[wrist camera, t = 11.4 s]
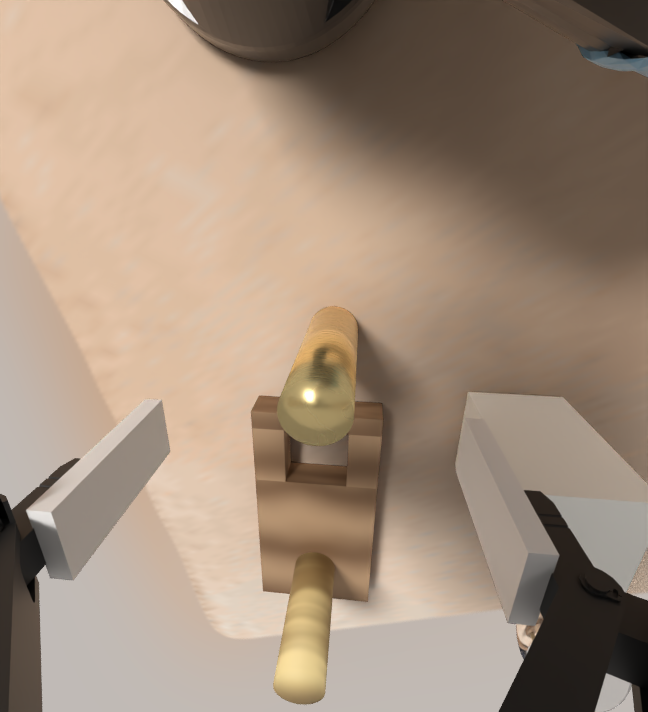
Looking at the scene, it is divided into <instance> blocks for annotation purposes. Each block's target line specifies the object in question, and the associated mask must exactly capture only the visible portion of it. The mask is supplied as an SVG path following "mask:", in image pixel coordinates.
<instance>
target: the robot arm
mask: <svg viewBox="0 0 648 712" xmlns="http://www.w3.org/2000/svg"><path fill="white" fill-rule="evenodd" d="M164 1H165V3H166V4H167V5H168V6H169V7H170V8H171V9H172V10H173V11H174V12H175V13H176V14H177V15H178V16H179V17H180V18H181V19H182V20H183V21H184V22H185V23H186V24H187V25H188V26H190V27H191V28H192V29H193V30H194V31H195V32H196V33H197V34H199V35H200V36H201V37H203V38H204V39H205V40H207V41H208V42H210V43H211V44H213V45H214V46H216V47H218V48H220V49H222V50H224V51H226V52H228V53H230V54H233V55H235V56H238V57H242V58H245V59H250V60H255V61H263V62H279V61H287V60H293V59H297V58H301V57H304V56H307V55H310V54H312V53H314V52H317V51H319V50H321V49H323V48H324V47H326V46H328V45H330V44H331V43H333V42H334V41H336V40H337V39H338V38H340V37H341V36H342V35H343V34H345V33H346V32H347V31H348V30H349V29H350V28H351V27H353V26H354V25H355V24H356V23H357V22H358V20H359V19H360V18H361V17H362V16H363V15H364V14H365V13H366V11H367V10H368V9H369V8H370V6H371V5H372V4H373V2H374V1H375V0H164ZM503 1H505V2H506V3H508V4H510V5H511V6H513V7H515V8H517V9H518V10H520V11H522V12H523V13H525V14H527V15H528V16H530V17H532V18H534V19H535V20H537V21H539V22H540V23H542V24H544V25H545V26H547V27H549V28H551V29H552V30H554V31H556V32H557V33H559V34H561V35H562V36H564V37H566V38H568V39H569V40H571V41H573V42H574V43H575V44H576V45H577V46H578V48H579V50H580V52H581V54H582V56H583V57H584V58H586V59H587V60H589V61H590V62H592V63H594V64H596V65H598V66H600V67H603V68H608V69H612V70H617V71H635V72H637V73H639V74H641V75H643V76H645V77H647V78H648V0H503ZM169 453H170V446H169V440H168V434H167V428H166V422H165V416H164V410H163V404H162V400H155V399H145V400H144V401H143V402H141V403H140V404H139V405H138V406H137V407H136V408H135V409H134V410H133V411H132V412H131V413H130V414H129V415H127V416H126V417H125V418H124V419H123V420H122V421H121V422H120V423H119V424H118V425H117V426H116V427H115V428H114V429H112V430H111V431H110V432H109V433H108V434H107V435H106V436H105V437H104V438H103V439H102V440H101V441H100V442H99V443H98V444H96V445H95V446H94V447H93V448H92V449H91V450H90V451H89V452H88V453H87V454H86V455H85V456H83V457H82V458H81V459H78V458H75V459H73V460H71V461H69V462H68V463H66V464H64V465H62V466H60V467H59V468H58V469H57V470H56V471H55V472H54V473H52V474H51V475H50V476H49V478H48V479H46V480H45V481H44V482H42V483H41V484H40V486H39V487H37V488H36V489H35V490H33V491H32V492H31V493H30V494H29V495H28V496H27V497H26V498H25V499H23V500H22V501H21V502H20V503H19V504H18V505H17V506H16V507H14V508H13V509H12V510H11V508H10V505H9V503H8V500H7V498H6V496H4V495H2V494H0V712H42V683H41V645H40V609H39V582H38V580H37V577H36V575H37V574H38V573H39V571H40V570H41V569H42V568H43V567H44V565H46V567H47V570H48V573H49V576H50V578H54V579H65V580H74V579H75V578H76V576H77V575H78V574H79V572H80V571H81V570H82V568H83V567H84V565H85V564H86V563H87V562H88V560H89V559H90V558H91V556H92V555H93V554H94V552H95V551H96V549H97V548H98V547H99V546H100V544H101V543H102V542H103V540H104V539H105V538H106V536H107V535H108V534H109V532H110V531H111V530H112V528H113V527H114V526H115V524H116V523H117V522H118V520H119V519H120V518H121V516H122V515H123V514H124V513H125V511H126V510H127V509H128V507H129V506H130V505H131V503H132V502H133V500H134V499H135V498H136V497H137V495H138V494H139V492H140V491H141V490H142V489H143V487H144V486H145V485H146V483H147V482H148V481H149V479H150V478H151V477H152V475H153V474H154V473H155V471H156V470H157V469H158V467H159V466H160V465H161V463H162V462H163V461H164V459H165V458H166V457H167V455H168V454H169ZM456 474H457V477H458V480H459V483H460V485H461V488H462V491H463V494H464V497H465V500H466V503H467V506H468V509H469V512H470V515H471V518H472V521H473V523H474V526H475V529H476V532H477V535H478V538H479V541H480V544H481V547H482V550H483V553H484V556H485V558H486V561H487V564H488V567H489V570H490V573H491V576H492V579H493V582H494V585H495V588H496V591H497V593H498V596H499V599H500V602H501V605H502V608H503V611H504V614H505V617H506V620H507V623H511V624H521V625H531V626H536V623H537V620H538V617H539V614H540V612H541V615H542V617H543V619H544V620H543V622H542V624H541V626H540V628H539V630H538V632H537V634H536V636H535V638H534V640H533V642H532V644H531V646H530V648H529V650H528V652H527V654H526V657H525V659H524V661H523V663H522V665H521V667H520V669H519V671H518V673H517V675H516V678H515V679H514V682H513V683H512V685H511V687H510V690H509V691H508V694H507V696H506V698H505V700H504V702H503V704H502V706H501V708H500V710H499V712H595V709H596V706H597V703H598V699H599V696H600V693H601V689H602V686H603V682H604V679H605V676H606V673H607V674H609V675H612V676H614V677H617V678H619V679H621V680H624V681H626V682H629V683H631V684H632V692H633V701H634V711H635V712H648V601H647V600H644V599H642V598H639V597H636V596H633V595H631V594H628V593H626V592H624V590H623V589H622V587H621V586H620V585H619V584H618V583H617V582H616V581H615V579H614V578H612V577H611V576H610V575H608V574H607V573H605V572H604V571H602V570H600V569H598V568H595V567H594V566H593V564H592V563H591V561H590V560H589V558H588V556H587V555H586V553H585V552H584V550H583V549H582V547H581V545H580V544H579V542H578V541H577V539H576V537H575V536H574V534H573V533H572V531H571V529H570V528H568V525H567V523H566V521H565V520H564V518H562V515H561V514H560V512H559V510H558V509H557V507H556V506H555V504H554V502H552V501H551V500H550V499H549V498H548V497H547V496H545V495H544V494H543V493H542V492H541V491H532V490H523V488H522V487H521V485H520V483H519V481H518V479H517V478H516V476H515V474H514V472H513V470H512V468H511V467H510V465H509V463H508V461H507V459H506V458H505V456H504V454H503V452H502V450H501V449H500V447H499V445H498V443H497V441H496V439H495V438H494V436H493V434H492V432H491V430H490V429H489V427H488V425H487V423H486V421H485V420H484V419H475V418H465V423H464V428H463V434H462V439H461V445H460V450H459V456H458V462H457V467H456Z"/></svg>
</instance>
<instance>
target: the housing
mask: <svg viewBox="0 0 648 712" xmlns="http://www.w3.org/2000/svg"><path fill="white" fill-rule="evenodd" d="M465 418H475V419H484V420H485V421H486V423H487V425H488V427H489V429H490V430H491V432H492V434H493V436H494V438H495V439H496V441H497V443H498V445H499V447H500V449H501V450H502V452H503V454H504V456H505V458H506V459H507V461H508V463H509V465H510V467H511V468H512V470H513V472H514V474H515V476H516V478H517V479H518V481H519V483H520V485H521V487H522V488H523V490H532V491H541V492H542V493H543V494H544V495H545V496H547V497H548V498H549V499H550V500H551V501H552V502H554V504H555V506H556V507H557V509H558V510H559V512H560V514H561V515H562V518H564V520H565V521H566V523H567V525H568V528H570V529H571V531H572V533H573V534H574V536H575V537H576V539H577V541H578V542H579V544H580V545H581V547H582V549H583V550H584V552H585V553H586V555H587V556H588V558H589V560H590V561H591V563H592V564H593V566H594V567H595V568H598V569H600V570H602V571H604V572H605V573H607V574H608V575H610V576H611V577H612V578H614V579H615V581H616V582H617V583H618V584H619V585H620V586H621V587H622V589H623V590H624V592H627V590H628V587H629V585H630V583H631V581H632V579H633V577H634V575H635V573H636V570H637V568H638V566H639V564H640V562H641V560H642V558H643V555H644V553H645V551H646V549H647V547H648V484H647V483H646V482H645V481H644V480H643V479H642V478H641V477H640V476H639V475H638V474H637V473H636V472H635V471H634V470H633V468H632V467H631V466H630V465H629V464H628V463H627V462H626V461H625V460H624V459H623V458H622V457H621V456H620V455H619V454H618V453H617V452H616V451H615V450H614V449H613V448H612V447H611V446H610V445H609V444H608V443H607V442H606V441H605V440H604V439H603V438H602V437H601V436H600V435H599V434H598V433H597V432H596V431H595V430H594V428H593V427H592V426H591V425H590V424H589V423H588V422H587V421H586V420H585V419H584V418H583V417H582V416H581V415H580V414H579V413H578V412H577V411H576V410H575V409H574V408H573V407H572V406H571V405H570V404H569V403H568V402H567V401H566V400H565V399H564V398H563V397H554V396H536V395H518V394H500V393H483V392H468V394H467V400H466V405H465V411H464V417H463V422H462V428H461V433H460V439H459V444H458V450H457V455H456V461H455V468H456V467H457V462H458V456H459V450H460V445H461V439H462V434H463V428H464V423H465Z"/></svg>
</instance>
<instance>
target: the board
mask: <svg viewBox="0 0 648 712" xmlns="http://www.w3.org/2000/svg"><path fill="white" fill-rule="evenodd" d="M279 398H280V397H272V396H259V397H258V399H257V401H256V403H255V405H254V407H253V409H252V411H251V419H252V434H253V449H254V463H255V478H256V493H257V507H258V522H259V537H260V551H261V566H262V581H263V591H267V592H276V593H286V594H290V596H289V602H288V607H287V613H286V618H285V623H284V629H283V634H282V640H281V646H280V651H279V656H278V661H277V667H276V672H275V678H274V683H273V687H274V690H275V692H276V693H277V694H278V695H279V696H280V697H281V698H283V699H285V700H287V701H289V702H292V703H296V704H313V703H316V702H318V701H320V700H321V699H322V698H323V697H324V695H325V687H326V675H327V662H328V648H329V636H330V635H329V634H330V623H331V610H332V598H336V599H346V600H355V601H365V602H368V590H369V579H370V567H371V556H372V544H373V533H374V521H375V510H376V498H377V487H378V475H379V464H380V452H381V441H382V429H383V410H382V403H372V402H355V408H354V421H353V424H352V427H351V429H350V430H349V432H348V433H347V434H346V435H349V440H348V461H347V466H333V465H319V464H306V463H292V462H291V453H290V436H289V435H288V434H287V433H286V432H285V430H284V429H283V428H282V426H281V424H280V422H279V419H278V416H277V405H278V401H279Z"/></svg>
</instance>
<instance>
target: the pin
mask: <svg viewBox="0 0 648 712" xmlns="http://www.w3.org/2000/svg"><path fill="white" fill-rule="evenodd" d="M357 341H358V325H357V322H356V320H355V318H354V316H353V315H352V314H351V313H350V312H349V311H347V310H346V309H344V308H341V307H336V306H331V307H326V308H323V309H321V310H320V311H318V312H317V313H316V314H315V315H314V317H313V319H312V321H311V323H310V326H309V328H308V330H307V333H306V335H305V338H304V340H303V343H302V345H301V347H300V350H299V352H298V355H297V357H296V360H295V362H294V364H293V367H292V369H291V372H290V374H289V377H288V379H287V381H286V384H285V386H284V389H283V391H282V394H281V396H280V398H279V401H278V405H277V416H278V419H279V422H280V424H281V426H282V428H283V429H284V430H285V432H286V433H287V434H288V435H289V436H291V437H292V438H293V439H295V440H297V441H299V442H301V443H303V444H307V445H312V446H325V445H330V444H332V443H335V442H337V441H339V440H340V439H342V438H343V437H344V436H345V435H346V434H347V433H348V432H349V430H350V429H351V427H352V424H353V421H354V408H355V386H356V364H357Z"/></svg>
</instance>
